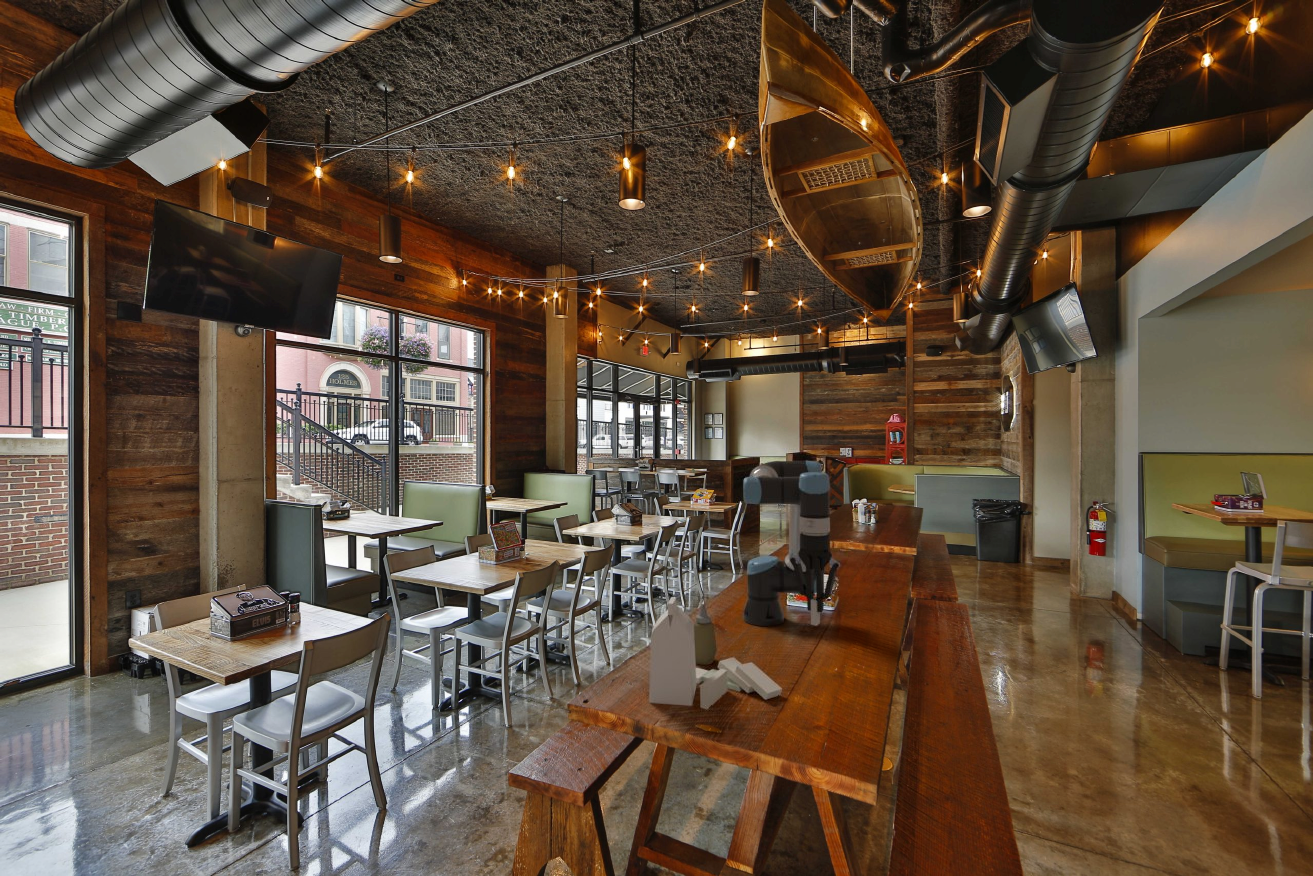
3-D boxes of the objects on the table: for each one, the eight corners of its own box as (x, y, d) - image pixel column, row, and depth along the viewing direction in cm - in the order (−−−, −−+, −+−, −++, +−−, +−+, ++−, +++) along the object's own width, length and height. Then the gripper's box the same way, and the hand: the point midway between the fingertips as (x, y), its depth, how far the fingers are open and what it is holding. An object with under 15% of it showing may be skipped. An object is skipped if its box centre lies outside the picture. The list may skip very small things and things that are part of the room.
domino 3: (739, 694, 159) (702, 683, 166) (749, 685, 164) (712, 675, 170) (739, 686, 159) (702, 676, 165) (749, 678, 163) (712, 668, 170)
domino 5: (765, 699, 152) (735, 671, 161) (780, 695, 156) (749, 668, 165) (767, 693, 152) (736, 665, 161) (782, 688, 155) (751, 662, 165)
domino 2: (720, 689, 160) (700, 708, 150) (720, 668, 160) (700, 685, 150) (727, 691, 159) (707, 710, 149) (727, 670, 159) (706, 687, 149)
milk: (656, 682, 165) (655, 593, 164) (696, 685, 163) (695, 594, 162) (649, 702, 153) (647, 606, 152) (692, 705, 151) (690, 608, 151)
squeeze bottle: (696, 668, 174) (695, 609, 174) (687, 658, 182) (686, 601, 181) (720, 665, 176) (720, 607, 176) (711, 655, 184) (710, 599, 183)
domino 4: (747, 693, 156) (717, 667, 165) (761, 688, 160) (731, 663, 169) (749, 686, 156) (719, 661, 165) (763, 682, 160) (733, 657, 169)
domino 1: (698, 685, 164) (663, 675, 171) (708, 677, 169) (674, 668, 176) (698, 678, 164) (663, 669, 171) (708, 670, 169) (674, 661, 176)
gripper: (785, 533, 148) (786, 623, 148) (835, 538, 140) (836, 633, 141) (795, 528, 154) (796, 615, 155) (844, 532, 147) (845, 623, 147)
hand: (815, 623), depth 148 cm, fingers closed
